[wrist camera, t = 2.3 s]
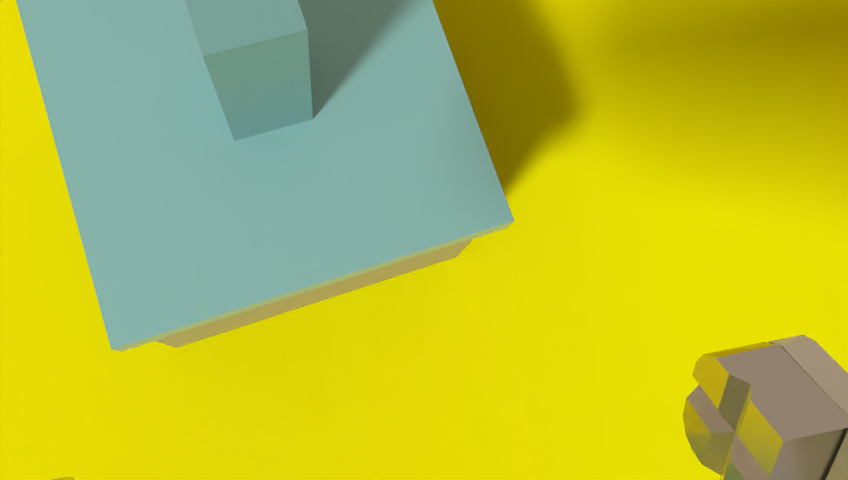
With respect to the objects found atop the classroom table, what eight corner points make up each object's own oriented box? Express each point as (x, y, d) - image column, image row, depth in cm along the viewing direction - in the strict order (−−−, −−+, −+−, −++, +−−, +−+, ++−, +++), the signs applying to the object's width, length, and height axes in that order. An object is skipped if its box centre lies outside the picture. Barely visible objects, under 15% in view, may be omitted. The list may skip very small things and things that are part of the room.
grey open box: (456, 256, 37) (490, 219, 29) (176, 347, 34) (131, 333, 26) (368, 8, 39) (378, -88, 31) (98, 76, 36) (35, -10, 29)
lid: (500, 233, 30) (573, 164, 21) (128, 353, 27) (30, 332, 18) (383, -86, 32) (404, -270, 23) (29, -5, 30) (-101, -178, 21)
